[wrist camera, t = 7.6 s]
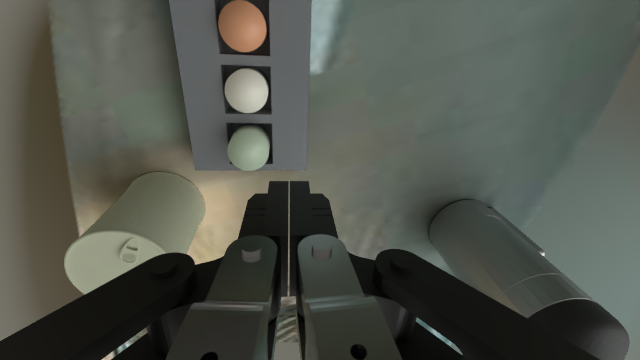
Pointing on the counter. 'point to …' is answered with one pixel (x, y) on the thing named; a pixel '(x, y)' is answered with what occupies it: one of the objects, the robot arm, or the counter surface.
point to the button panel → (221, 61)
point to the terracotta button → (242, 26)
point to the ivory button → (247, 89)
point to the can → (136, 230)
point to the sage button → (249, 147)
